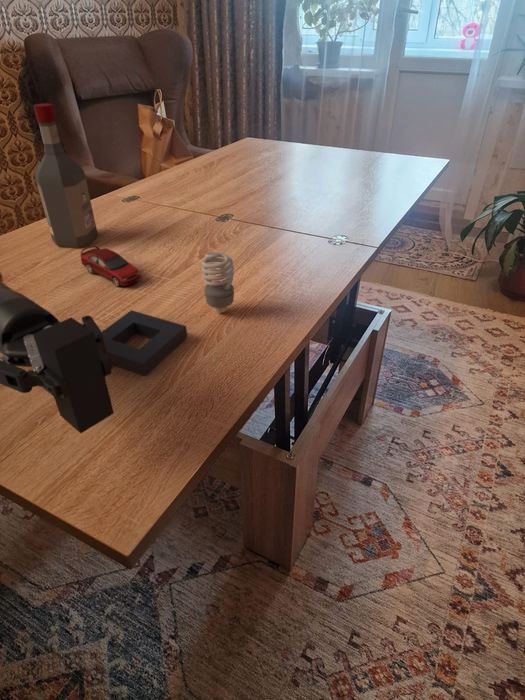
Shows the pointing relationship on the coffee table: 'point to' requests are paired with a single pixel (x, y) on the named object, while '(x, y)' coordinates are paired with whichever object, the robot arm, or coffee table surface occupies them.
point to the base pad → (151, 353)
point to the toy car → (110, 266)
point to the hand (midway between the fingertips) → (87, 379)
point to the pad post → (76, 372)
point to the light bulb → (218, 291)
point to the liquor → (62, 188)
